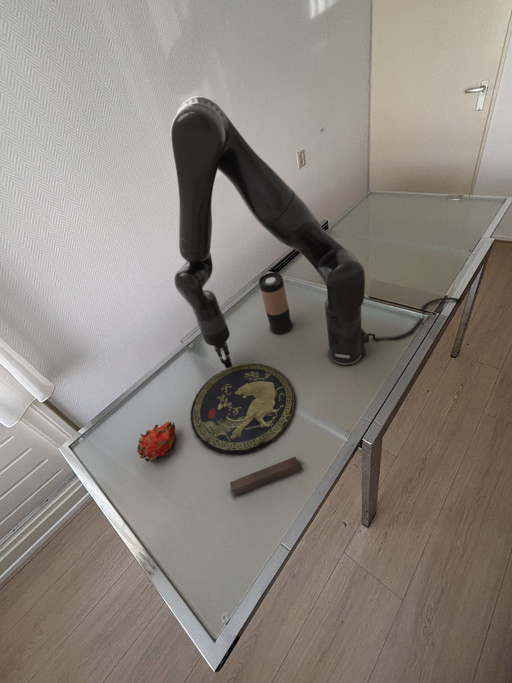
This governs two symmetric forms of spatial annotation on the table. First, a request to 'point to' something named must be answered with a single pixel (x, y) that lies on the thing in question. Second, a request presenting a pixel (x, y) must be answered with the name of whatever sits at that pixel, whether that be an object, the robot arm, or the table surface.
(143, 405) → the table surface
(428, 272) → the table surface
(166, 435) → the dragon fruit
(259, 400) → the decorative plate
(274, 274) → the travel mug
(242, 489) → the rail
